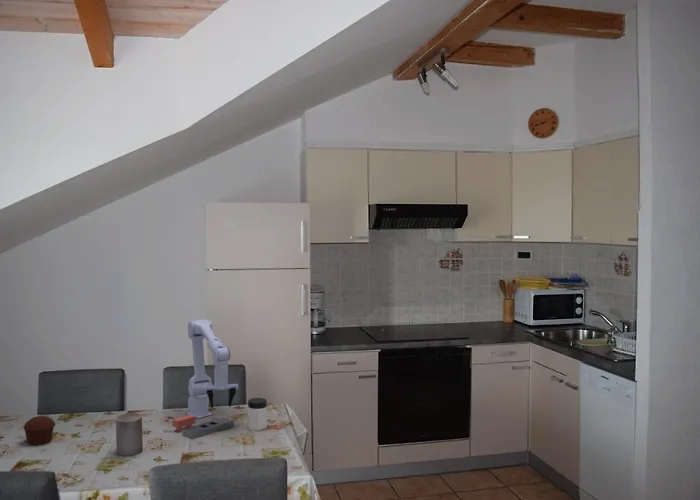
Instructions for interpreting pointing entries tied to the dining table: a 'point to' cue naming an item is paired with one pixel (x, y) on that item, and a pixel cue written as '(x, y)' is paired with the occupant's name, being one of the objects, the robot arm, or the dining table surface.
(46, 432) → the muffin
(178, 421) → the clip
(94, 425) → the dining table surface
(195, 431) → the rail
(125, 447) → the pillar candle
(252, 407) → the jar
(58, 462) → the dining table surface
